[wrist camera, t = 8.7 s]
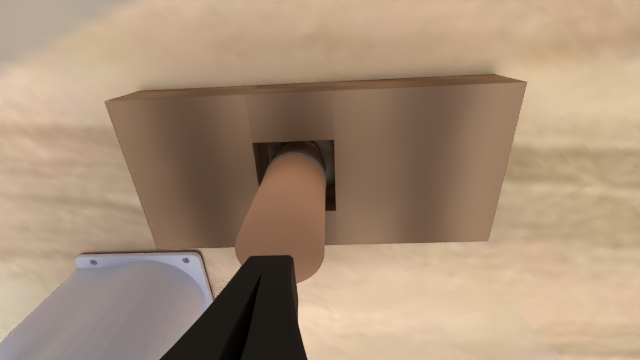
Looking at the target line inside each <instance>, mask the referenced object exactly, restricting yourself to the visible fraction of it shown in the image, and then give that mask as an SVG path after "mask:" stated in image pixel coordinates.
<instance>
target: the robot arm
mask: <svg viewBox="0 0 640 360" xmlns="http://www.w3.org/2000/svg"><path fill="white" fill-rule="evenodd" d="M186 258H188V259H189V260H188V259H186ZM74 261H75V264H76V266H77V268H78V270H77V271H75V272H74V273H73V274H72V275H71V276H70V277H69V278H68V279H67V280H66V281H65V282H64V283H63V284H62V285H60V286H59V287H58V288H57V289H56V290H55V291H54V292H53V293H52V294H51V295H50V296H49V297H48V298H47V299H45V300H44V301H43V302H42V303H41V304H40V305H39V306H38V307H37V308H36V309H35V310H34V311H33V312H32V313H31V314H29V315H28V316H27V317H26V318H25V319H24V320H23V321H22V322H21V323H20V324H19V325H18V326H17V327H16V328H14V329H13V330H12V331H11V332H10V333H9V334H8V335H7V337H6V338H5V339H4V340H3V341H2V342H1V344H0V360H307V356H306V353H305V349H304V346H303V342H302V338H301V334H300V330H299V325H298V295H297V286H296V277H295V268H294V259H293V257H291V256H290V255H265V256H250V257H249V258H248V259H247V260H246V261H245V263H244V264H243V265H242V266H241V268H240V269H239V270H238V271H237V273H236V274H235V275H234V277H233V278H232V279H231V280H230V282H229V283H228V284H227V285H226V287H225V288H224V289H223V290H222V291H221V293H220V294H219V295H218V296H217V297H216V299H215V300H214V301H213V297H212V294H211V290H210V287H209V283H208V280H207V276H206V273H205V269H204V266H203V262H202V258H201V256H200V255H199V254H198V253H196V252H167V253H124V254H82V255H79V256H78V257H76V258H75V260H74Z"/></svg>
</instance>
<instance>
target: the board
mask: <svg viewBox="0 0 640 360" xmlns="http://www.w3.org/2000/svg"><path fill="white" fill-rule="evenodd" d="M526 85H527V82H525V81H521V80H516V79H512V78H508V77H503V76H499V75H495V74H491V75H470V76H449V77H427V78H406V79H385V80H364V81H343V82H321V83H300V84H279V85H258V86H237V87H215V88H194V89H173V90H152V91H138V92H135V93H131V94H128V95H125V96H121V97H118V98H114V99H111V100H108V101H104V102H105V104H106V107H107V110H108V113H109V116H110V118H111V121H112V124H113V127H114V130H115V132H116V135H117V138H118V141H119V143H120V146H121V149H122V152H123V155H124V157H125V160H126V163H127V166H128V169H129V171H130V174H131V177H132V180H133V182H134V185H135V188H136V191H137V194H138V196H139V199H140V202H141V205H142V208H143V210H144V213H145V216H146V219H147V222H148V224H149V227H150V230H151V233H152V235H153V238H154V241H155V244H156V247H157V249H181V248H223V247H235V242H236V238H237V235H238V233H239V231H240V229H241V226H242V224H243V222H244V220H245V218H246V215H247V213H248V211H249V209H250V207H251V204H252V202H253V200H254V198H255V196H256V193H257V191H258V189H259V187H260V185H261V182H262V180H263V178H264V175H265V171H266V169H267V167H268V157H267V150H266V142H290V141H316V140H334V169H335V187H326V190H325V239H324V245H349V244H391V243H433V242H475V241H488V240H489V236H490V232H491V228H492V224H493V220H494V216H495V212H496V208H497V203H498V199H499V195H500V191H501V187H502V183H503V179H504V175H505V171H506V167H507V163H508V158H509V154H510V150H511V146H512V142H513V138H514V134H515V130H516V126H517V122H518V118H519V113H520V109H521V105H522V101H523V97H524V93H525V89H526Z"/></svg>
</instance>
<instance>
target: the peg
mask: <svg viewBox="0 0 640 360" xmlns="http://www.w3.org/2000/svg"><path fill="white" fill-rule="evenodd" d="M325 190H326V165H325V161H324V158H323V156H322V155H321V153H320V151H319V149H318V148H317V146H316V145H315V144H313V143H312V142H310V141H290V142H288V143H287V144H285V145H284V146H282V147H281V148H279V149H278V150H277V151H276V153H275V154H274V156H273V158H272V160H271V162H270V163H269V165H268V167H267V169H266V171H265V175H264V178H263V180H262V182H261V185H260V187H259V189H258V191H257V193H256V196H255V198H254V200H253V202H252V204H251V207H250V209H249V211H248V213H247V215H246V218H245V220H244V222H243V224H242V226H241V229H240V231H239V233H238V235H237V238H236V242H235V251H236V255H237V258H238V260H239V262H240V264H241V265H243V264H244V263H245V261H246V260H247V259H248V258H249V257H250V256H265V255H290V256H291V257H293V259H294V268H295V277H296V283H299V282H302V281H304V280H306V279H308V278H310V277H311V276H312V275H314V274H315V273H316V272H317V270H318V269H319V268H320V266H321V264H322V262H323V258H324V239H325Z"/></svg>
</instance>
